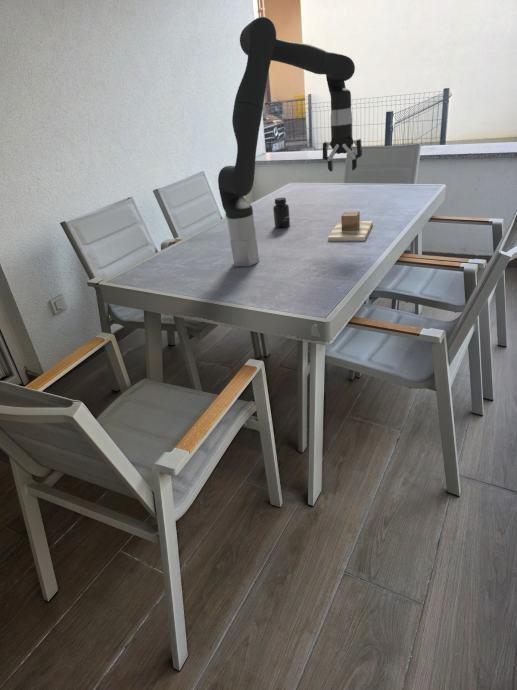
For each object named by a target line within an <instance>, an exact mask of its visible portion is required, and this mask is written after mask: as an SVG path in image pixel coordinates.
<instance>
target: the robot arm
mask: <svg viewBox="0 0 517 690" xmlns="http://www.w3.org/2000/svg"><path fill="white" fill-rule="evenodd" d="M239 45H240V48H241V50H242V51H243V53H244V54H245V56H246V55H247V63H246V66H245V70H244V72H243V76H242V78H241V80H240V82H239V85H238V89H237V92H236V95H235V99H234V104H233V109H232V120H231V123H232V129H233V132H234V137H235V141H236V146H237V151H236V159H235V164H234V165H226V166H223V168H221V169H220V170H219V172H218V177H217V183H218V190H219V196H220V201H221V204H222V208H223V210H224V212H225V214H226V220H227V227H228V233H229V240H230V247H231V253H232V254H231V255H232V260H233V266H234V267H243V268H245V267H248V268H249V267H251V266H253V265H256V264H258V263H259V262H260V257H259V250H258V243H257V234H256V226H255V218H254V217H255V216H254V211H253V206H252V204H251V203H249V202H248V201H247V200H246V198H245V197H246V196H248V195H249V194H250V193H251V190H252V189H253V186H254V182H255V170H256V156H257V146H258V141H259V133H260V126H261V123H262V116H263V110H264V101H265V95H266V90H267V83H268V75H269V70H270V67H271V62H272V61H273V62H278V63H282V64H287V65H289V66H293V67H296V68H298V69H301V70H305V71H307V72H309V73H313V74H315V75H325V76H326V78H325V79H326V83H327V87H328V92H329V95H330V137H331V138H330V141H324V142H323V143H322V160H325V161H327V170H328V171H329V172H333V171H334V165H333V161H334V160H333V158H334V157H335V155H336V154H337V155H339V154H348V155H349V156H350V157H351V158H352V159H351V169H352V171H355V170H356V168H357V167H358V166H357V165H358V159H359V158H361V157H362V155H363V151H362V148H363V147H362V138H358V139H354V138H353V112H352V93H351V91H350V89H348V88H346V83H345V82H346V81H348V80H351V78H352V77H353V76H354V73H355V70H356V65H355V63H354V61H353V59H352V58H351V57H349V56H348V55H344V54H340V53H335V52H330V51H326V50H324V49H322V48H320V47H317V46H314V45H312V44H308V43H304V42H296V41H295V42H294V41H289V40H288V41H287V40H285V39H284V40H283V39H279V38H277V31H276V27H275V24H274V23H273V20H271V19H270V18H269V17H267V16H258V17H257V18H255V19H253V20H252V21H250V22H249V23H248V24H247V25H246V26H245V27H244V28H243V29H242V31H241V32H240V36H239ZM353 145H354V146H355V147H356V150H357V151H356V152H355V151H354V149H353V148H352V147H353ZM329 148H331V149H332V151H331V152H330V154H329V155H328V150H329ZM356 153H357V154H356Z"/></svg>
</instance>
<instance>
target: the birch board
mask: <svg viewBox="0 0 517 690" xmlns="http://www.w3.org/2000/svg"><path fill="white" fill-rule="evenodd" d="M373 224H374V221H373V220H365V221H363V220H362V221H360V227H359V228H358V230H357V231H342V223H341V221H338V222H337V223H336V225H335V227H334V228H333V229H332V231H331V232H330V233H329V235H328V236H327V242H365V241H366V240H367V238H368V236H369V233H370V231H371V229H372V227H373Z"/></svg>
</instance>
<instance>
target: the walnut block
mask: <svg viewBox="0 0 517 690" xmlns="http://www.w3.org/2000/svg"><path fill="white" fill-rule="evenodd" d="M360 216H361V215H360V210H356V211H353V210H352V211H343V212H342V214H341V217H340V219H341V220H340V222H341V223H342V231H357V230H358V228H359V227H360Z"/></svg>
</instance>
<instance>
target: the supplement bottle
mask: <svg viewBox="0 0 517 690" xmlns="http://www.w3.org/2000/svg"><path fill="white" fill-rule="evenodd" d="M272 211H273V222H274V223H273V224H274V227H275V229H285V228H289V227H290V226H291V221H290V218H291V217H290V206H289V205H288V204H287V199H286V197H277V198H275V199H274V206H273V207H272Z"/></svg>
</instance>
